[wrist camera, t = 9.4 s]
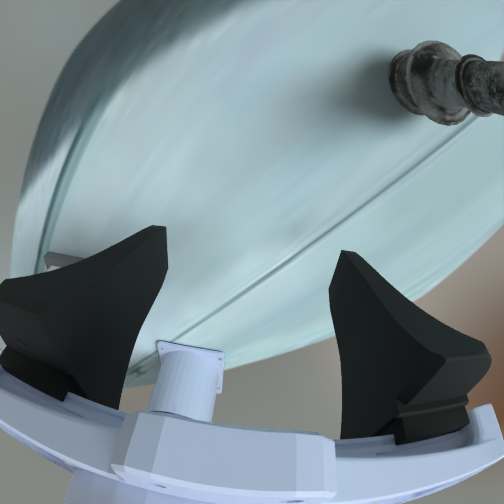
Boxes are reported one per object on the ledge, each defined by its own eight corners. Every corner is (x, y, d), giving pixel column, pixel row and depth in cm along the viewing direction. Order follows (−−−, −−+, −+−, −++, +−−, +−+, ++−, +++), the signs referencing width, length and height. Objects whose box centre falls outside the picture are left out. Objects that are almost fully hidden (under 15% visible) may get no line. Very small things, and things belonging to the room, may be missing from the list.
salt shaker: (452, 119, 16) (565, 164, 6) (390, 119, 17) (502, 161, 7) (443, 50, 13) (558, 49, 3) (378, 43, 14) (485, 11, 4)
